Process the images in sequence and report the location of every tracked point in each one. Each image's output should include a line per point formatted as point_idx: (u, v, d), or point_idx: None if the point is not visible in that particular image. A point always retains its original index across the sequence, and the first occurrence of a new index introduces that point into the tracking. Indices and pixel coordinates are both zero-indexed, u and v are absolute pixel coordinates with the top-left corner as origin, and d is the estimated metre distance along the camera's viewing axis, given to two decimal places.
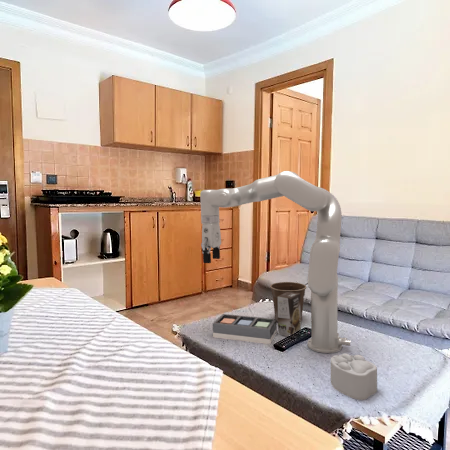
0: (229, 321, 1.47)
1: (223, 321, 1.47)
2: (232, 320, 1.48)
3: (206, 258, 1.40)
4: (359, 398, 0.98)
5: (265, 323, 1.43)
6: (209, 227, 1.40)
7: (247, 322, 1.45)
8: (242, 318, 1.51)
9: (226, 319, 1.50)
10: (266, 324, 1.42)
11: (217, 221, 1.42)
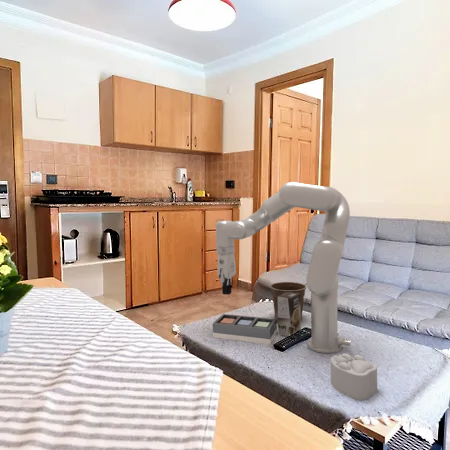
0: (229, 321, 1.47)
1: (223, 321, 1.47)
2: (232, 320, 1.48)
3: (225, 290, 1.45)
4: (359, 398, 0.98)
5: (265, 323, 1.43)
6: (225, 258, 1.41)
7: (247, 322, 1.45)
8: (242, 318, 1.51)
9: (226, 319, 1.50)
10: (266, 324, 1.42)
11: (232, 252, 1.43)
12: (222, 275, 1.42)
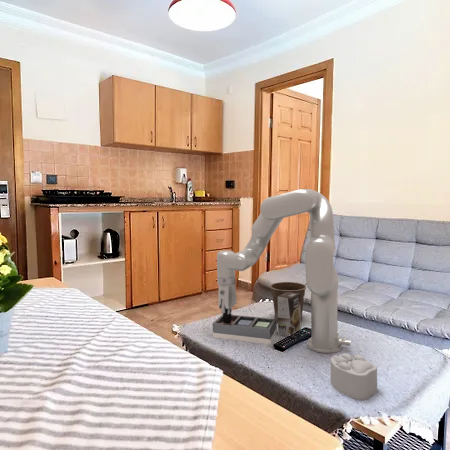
0: (230, 323, 1.47)
1: (223, 323, 1.47)
2: (232, 322, 1.48)
3: (226, 319, 1.47)
4: (359, 398, 0.98)
5: (265, 323, 1.43)
6: (225, 289, 1.42)
7: (247, 322, 1.45)
8: (242, 318, 1.51)
9: None
10: (266, 324, 1.42)
11: (233, 282, 1.45)
12: (223, 306, 1.43)
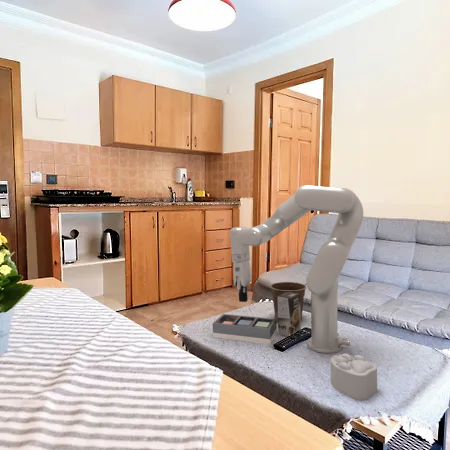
0: None
1: None
2: None
3: (242, 297, 1.43)
4: (359, 398, 0.98)
5: (265, 323, 1.43)
6: (241, 266, 1.39)
7: (247, 322, 1.45)
8: (242, 318, 1.51)
9: (226, 322, 1.50)
10: (266, 324, 1.42)
11: (248, 259, 1.41)
12: (238, 283, 1.39)
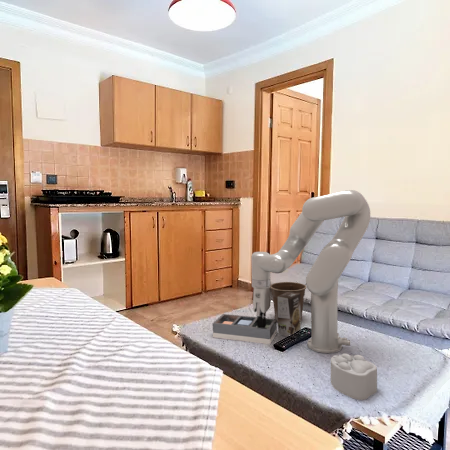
0: None
1: None
2: None
3: (261, 323, 1.41)
4: (359, 398, 0.98)
5: None
6: (261, 292, 1.37)
7: (247, 322, 1.45)
8: (242, 318, 1.51)
9: (226, 322, 1.50)
10: (266, 327, 1.42)
11: (269, 285, 1.39)
12: (258, 309, 1.38)
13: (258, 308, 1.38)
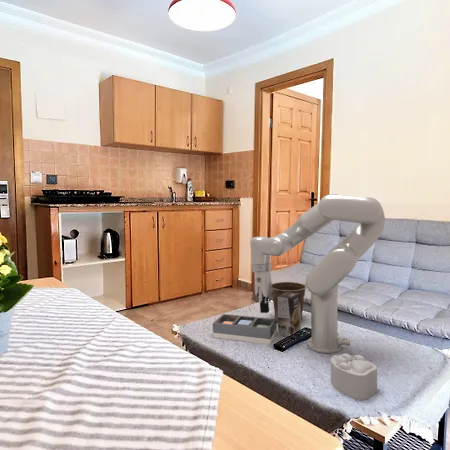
0: None
1: None
2: None
3: (264, 308, 1.40)
4: (359, 398, 0.98)
5: (265, 326, 1.44)
6: (262, 276, 1.36)
7: (247, 322, 1.45)
8: (242, 318, 1.51)
9: (226, 322, 1.50)
10: (266, 327, 1.42)
11: (269, 269, 1.38)
12: (260, 293, 1.37)
13: (260, 293, 1.37)
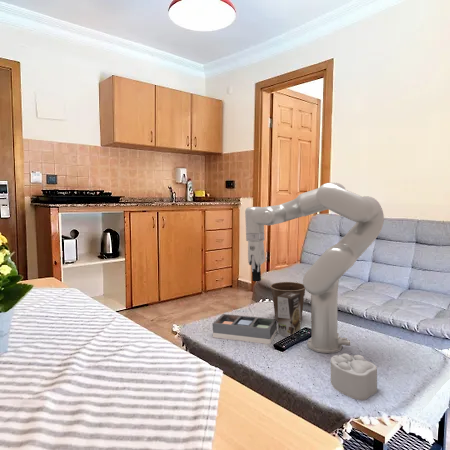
0: None
1: None
2: None
3: (256, 276, 1.44)
4: (359, 398, 0.98)
5: (265, 326, 1.44)
6: (256, 245, 1.39)
7: (247, 322, 1.45)
8: (242, 318, 1.51)
9: (226, 322, 1.50)
10: (266, 327, 1.42)
11: (263, 238, 1.42)
12: (253, 262, 1.40)
13: (253, 261, 1.40)
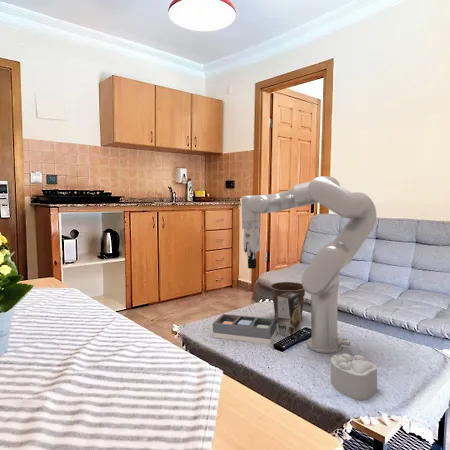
0: None
1: None
2: None
3: (251, 264, 1.47)
4: (359, 398, 0.98)
5: (265, 326, 1.44)
6: (251, 232, 1.42)
7: (247, 322, 1.45)
8: (242, 318, 1.51)
9: (226, 322, 1.50)
10: (266, 327, 1.42)
11: (258, 226, 1.45)
12: (248, 249, 1.43)
13: (248, 248, 1.43)
